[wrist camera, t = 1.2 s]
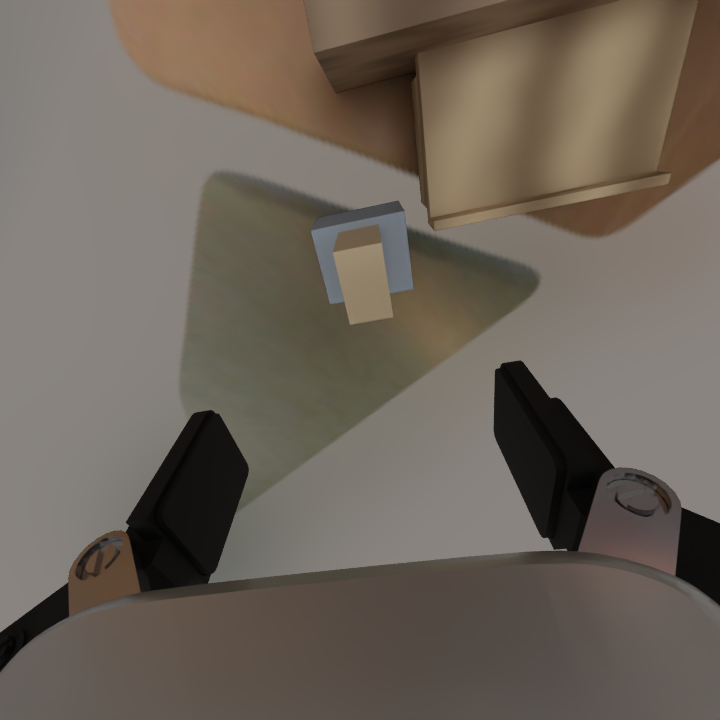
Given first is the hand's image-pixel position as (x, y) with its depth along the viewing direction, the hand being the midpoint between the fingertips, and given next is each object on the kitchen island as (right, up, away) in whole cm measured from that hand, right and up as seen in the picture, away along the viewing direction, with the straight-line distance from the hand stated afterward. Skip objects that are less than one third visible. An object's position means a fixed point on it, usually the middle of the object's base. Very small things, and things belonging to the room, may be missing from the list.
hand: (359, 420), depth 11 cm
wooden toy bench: (+10, +21, +13) cm, 27 cm away
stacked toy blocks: (0, +12, +19) cm, 23 cm away
